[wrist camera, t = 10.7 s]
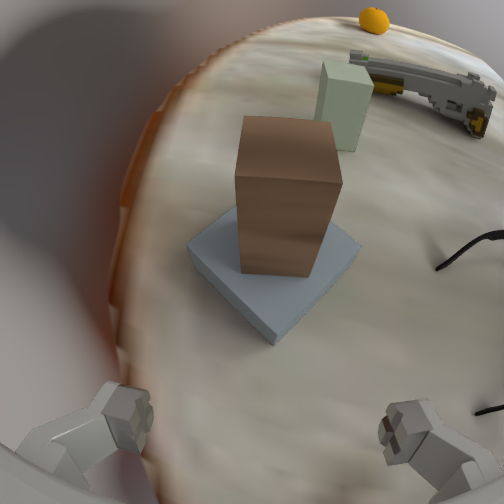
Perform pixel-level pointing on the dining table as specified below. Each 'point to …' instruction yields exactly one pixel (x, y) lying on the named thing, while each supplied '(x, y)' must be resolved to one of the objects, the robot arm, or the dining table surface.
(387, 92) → the toy
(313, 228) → the walnut block
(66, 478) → the robot arm
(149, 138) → the dining table surface
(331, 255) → the slate pedestal
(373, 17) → the orange
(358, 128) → the sage block
